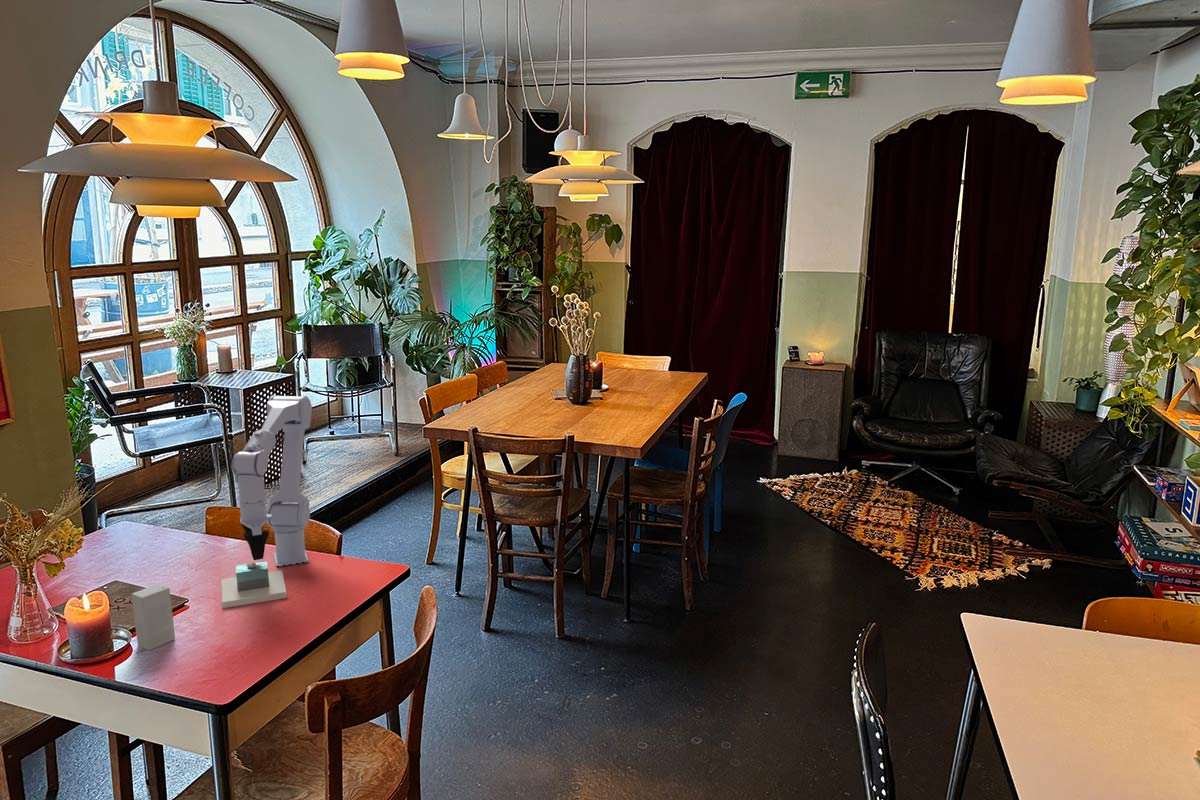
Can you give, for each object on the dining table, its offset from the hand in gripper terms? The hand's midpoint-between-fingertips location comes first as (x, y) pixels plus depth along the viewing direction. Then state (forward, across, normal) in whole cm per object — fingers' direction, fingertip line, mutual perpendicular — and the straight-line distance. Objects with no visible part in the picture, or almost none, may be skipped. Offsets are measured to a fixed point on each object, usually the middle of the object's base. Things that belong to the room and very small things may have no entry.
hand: (256, 553), depth 197 cm
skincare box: (+9, -19, +22) cm, 30 cm away
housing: (+8, -1, +1) cm, 8 cm away
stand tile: (+9, -1, +1) cm, 9 cm away
